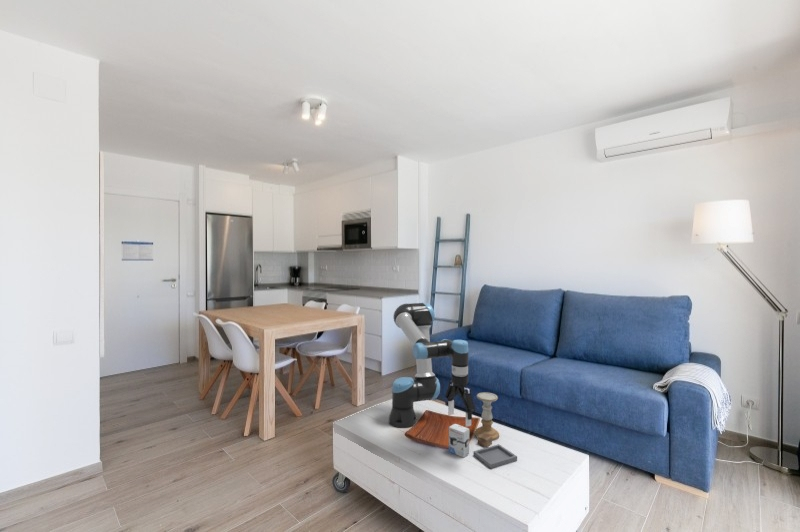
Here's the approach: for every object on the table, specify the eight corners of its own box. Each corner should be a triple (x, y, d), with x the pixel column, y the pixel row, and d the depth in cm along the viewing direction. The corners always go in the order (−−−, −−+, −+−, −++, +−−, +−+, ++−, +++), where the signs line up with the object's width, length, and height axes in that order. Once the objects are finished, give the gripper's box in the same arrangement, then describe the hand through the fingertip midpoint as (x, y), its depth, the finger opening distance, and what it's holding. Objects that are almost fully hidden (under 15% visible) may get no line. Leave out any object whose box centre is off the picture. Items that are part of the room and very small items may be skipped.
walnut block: (477, 444, 180) (477, 436, 180) (482, 440, 184) (483, 432, 184) (486, 448, 177) (486, 440, 177) (492, 444, 181) (492, 436, 180)
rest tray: (473, 455, 170) (473, 451, 170) (498, 448, 177) (498, 444, 177) (490, 469, 159) (490, 464, 159) (517, 460, 166) (517, 456, 166)
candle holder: (501, 432, 192) (502, 394, 192) (496, 443, 182) (496, 402, 181) (478, 427, 198) (478, 390, 198) (471, 437, 187) (472, 397, 187)
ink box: (448, 451, 174) (448, 426, 173) (454, 447, 177) (454, 423, 177) (463, 458, 168) (463, 432, 167) (469, 454, 171) (469, 428, 171)
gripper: (438, 368, 181) (438, 411, 181) (469, 383, 159) (469, 432, 159) (451, 366, 184) (450, 408, 185) (483, 381, 162) (483, 429, 162)
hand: (459, 419), depth 172 cm, fingers open, 13 cm apart
